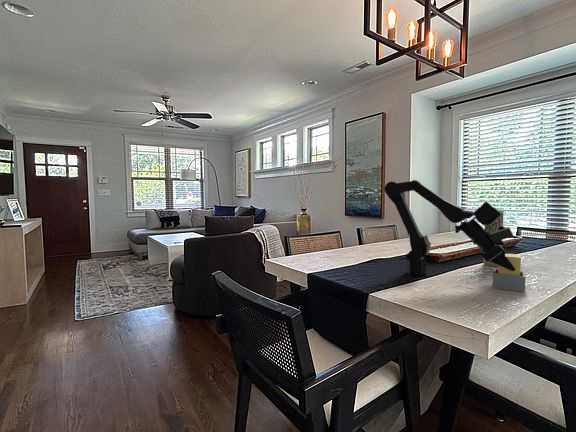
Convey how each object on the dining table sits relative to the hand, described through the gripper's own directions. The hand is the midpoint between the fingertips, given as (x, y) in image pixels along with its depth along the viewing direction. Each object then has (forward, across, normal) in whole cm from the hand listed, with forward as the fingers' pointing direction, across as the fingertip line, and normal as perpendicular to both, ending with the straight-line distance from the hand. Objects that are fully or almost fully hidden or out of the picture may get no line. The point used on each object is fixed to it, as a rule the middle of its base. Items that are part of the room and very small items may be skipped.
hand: (514, 268), depth 106 cm
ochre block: (+4, 0, +6) cm, 7 cm away
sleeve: (+4, 0, +6) cm, 7 cm away
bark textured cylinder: (-1, +35, +10) cm, 36 cm away
